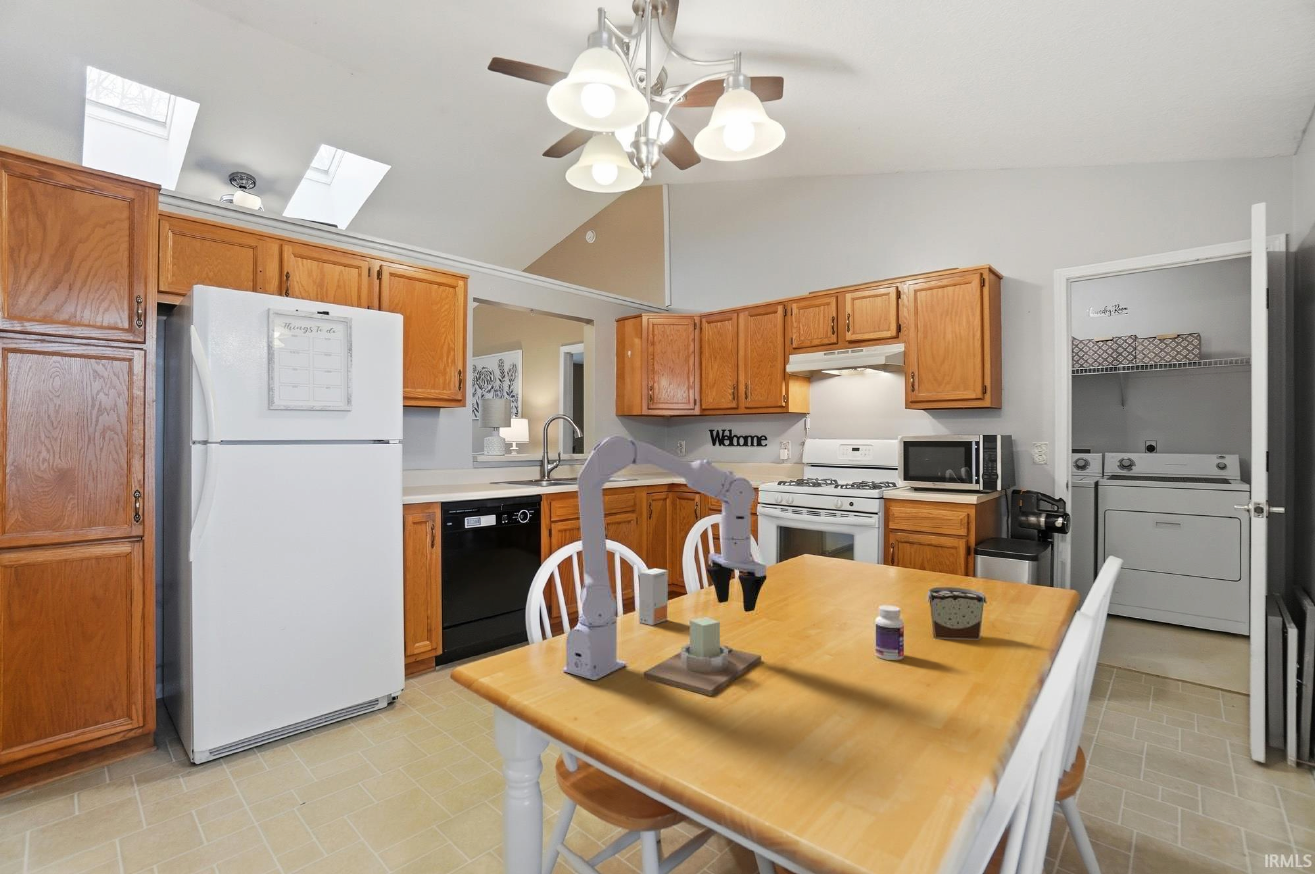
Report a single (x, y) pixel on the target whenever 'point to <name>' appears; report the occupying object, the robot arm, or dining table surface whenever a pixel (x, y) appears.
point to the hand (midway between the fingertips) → (735, 606)
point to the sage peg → (704, 637)
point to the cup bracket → (702, 669)
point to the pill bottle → (889, 633)
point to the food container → (956, 612)
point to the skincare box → (653, 596)
